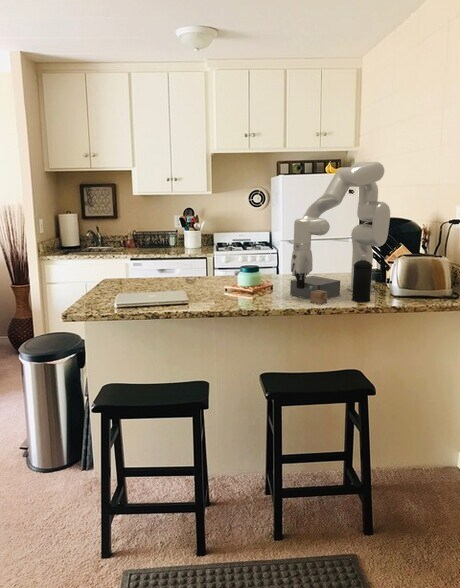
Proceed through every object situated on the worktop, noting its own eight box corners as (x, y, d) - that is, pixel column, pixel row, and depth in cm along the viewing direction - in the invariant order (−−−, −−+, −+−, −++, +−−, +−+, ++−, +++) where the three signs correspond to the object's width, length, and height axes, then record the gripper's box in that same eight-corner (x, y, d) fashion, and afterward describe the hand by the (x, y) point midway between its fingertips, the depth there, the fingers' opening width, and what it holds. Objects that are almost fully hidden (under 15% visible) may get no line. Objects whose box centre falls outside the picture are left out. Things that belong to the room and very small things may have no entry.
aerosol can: (374, 301, 227) (377, 256, 223) (360, 303, 223) (363, 257, 219) (361, 297, 234) (363, 253, 230) (347, 299, 230) (349, 254, 226)
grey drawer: (311, 289, 248) (311, 276, 246) (337, 295, 237) (337, 280, 236) (289, 294, 237) (289, 280, 236) (315, 300, 227) (316, 285, 225)
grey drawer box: (312, 290, 249) (312, 275, 248) (339, 295, 238) (340, 280, 236) (291, 294, 239) (291, 279, 237) (319, 300, 228) (319, 285, 226)
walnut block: (317, 300, 227) (318, 289, 226) (326, 302, 223) (327, 291, 222) (310, 302, 223) (310, 291, 222) (319, 304, 220) (320, 293, 219)
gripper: (297, 249, 218) (295, 291, 222) (319, 246, 228) (317, 287, 232) (284, 247, 224) (282, 289, 228) (306, 245, 234) (304, 284, 238)
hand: (300, 288), depth 230 cm, fingers closed
